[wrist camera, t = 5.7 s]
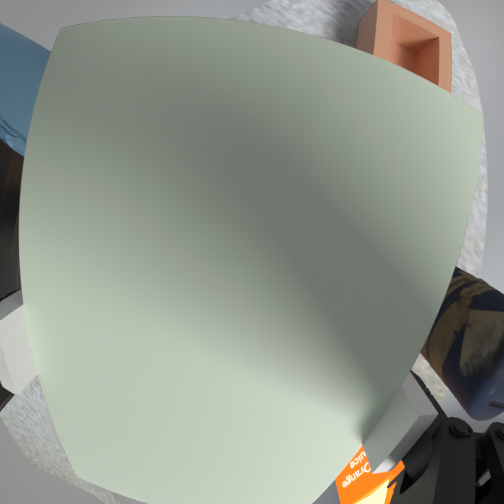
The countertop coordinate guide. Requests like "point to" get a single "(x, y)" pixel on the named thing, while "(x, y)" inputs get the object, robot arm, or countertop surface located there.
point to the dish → (407, 42)
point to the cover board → (232, 251)
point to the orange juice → (365, 482)
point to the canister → (470, 345)
